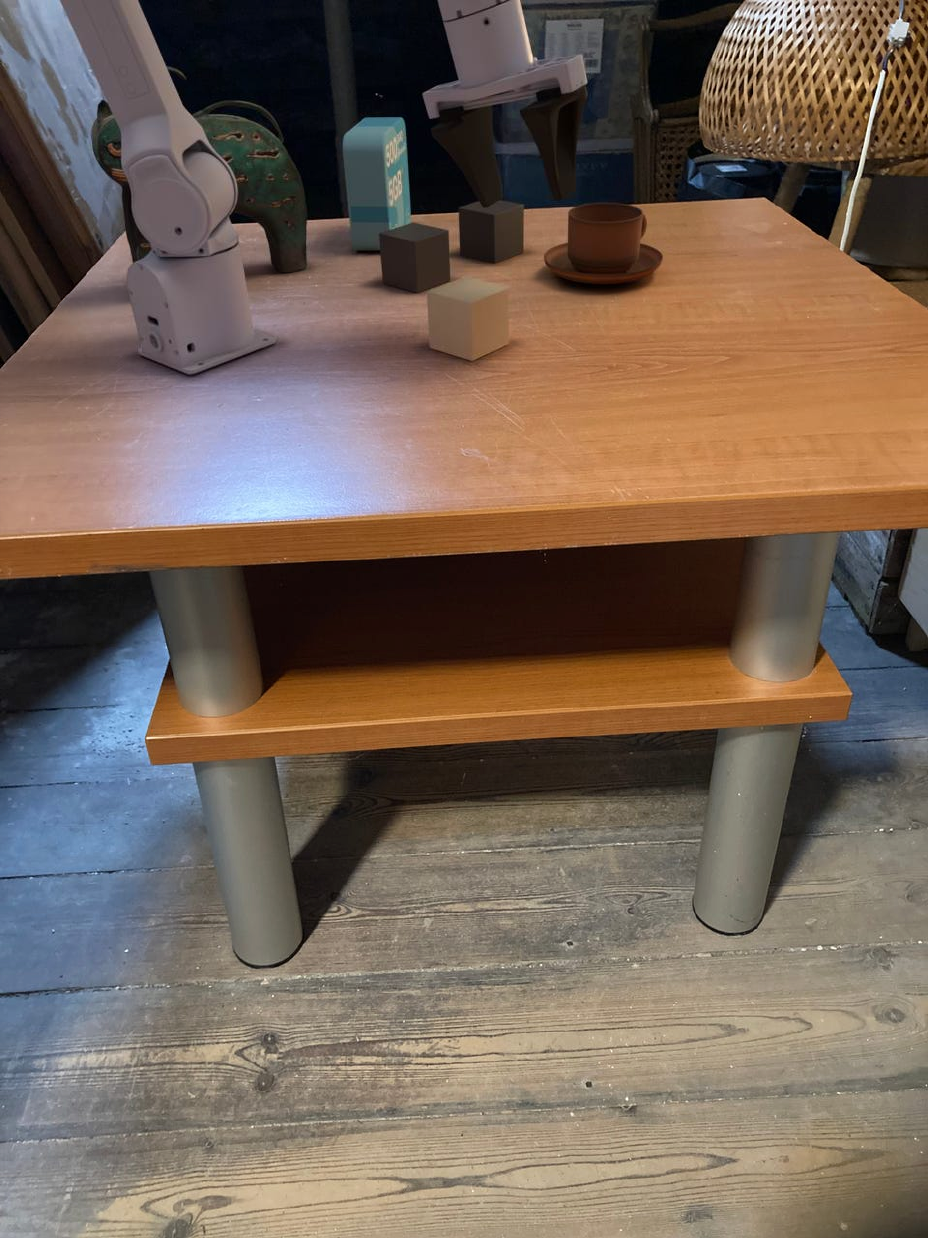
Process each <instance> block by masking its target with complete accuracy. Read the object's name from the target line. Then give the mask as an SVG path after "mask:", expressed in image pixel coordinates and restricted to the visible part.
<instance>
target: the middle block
mask: <svg viewBox="0 0 928 1238" xmlns="http://www.w3.org/2000/svg"><path fill="white" fill-rule="evenodd" d="M379 243H380V251H379V254H380V266H381V280H382V285H386V286H390V287H394V288H398V289H401V290H404V291H409V292H413V293H416V294H419V293H420V292H424V291H426V290H430V289H433V288H435V287H438V286H440V285H443V284H444V283H445V284H446V283H448V282H451V257H450V255H451V254H450V231H449V229H445V228H440V227H437V226H436V227H435V226H431V225H427V224H422V223H417V222H410V224H407V225H404V226H401V227H398V228H394V229H391V230H388V231H385V232H382V233H379Z"/></svg>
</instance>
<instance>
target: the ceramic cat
mask: <svg viewBox="0 0 928 1238" xmlns="http://www.w3.org/2000/svg"><path fill="white" fill-rule="evenodd" d="M166 67H167V70H168V72H172V73H174V74H175V75H177V76H178V77H179V78H181V80H183V82H184V83H185V82H186V80H187V77H186V76H185V75H184V74H183V72H182V71H180V70H179V69H177V68H175V67H172V66H168V65H166ZM225 106H235V107H240V108H241V107H242V108H249V109H253V110H256V111H258V112H260V113H261V114H262V115H263V116H265V117H266V118H267V119H268V120H269V121H270V122H271V124H272V125H273V126H274V128H275V130H276V133H277V135H278V136H276V135H275V134H274V133H273V131H272V132H271V130H269V129H267V128H266V127H265V126H263V125H261V124H260V123H258V122H255V121H252V120H249V119H247V118H245V117H243V116H242V117H241V116H238V115H237V116H236V115H230V114H220V113H218V114H217V113H215V114H214V113H213V114H212V113H211V114H209V113H210V112H211V111H213V110H215V109H217V108H220V107H225ZM191 115H192V116H193V117H194V119H195V120H196V121H197V122H198V123H199V124H200V125H201V126H202V128H203V130H204V133H205V135H206V137H207V139H208V141H209V143H210V145H211V146H212V148H213V149H214V150H215V151H216V153H218V154H219V155H220V156H221V157H222V158H223V159H224V160H225V161H226V162H227V164H228V165H229V166H230V168H231V170H232V171H233V174H234V176H235V179H236V183H237V189H238V196H237V202H236V205H235V208H234V210H233V211H232V214H233V213H234V214H239V215H242V216H245V217H248V218H249V219H251V220H253V222H256V223H258V225H259V226H260V227H261V228H262V229H263V231H264V233H265V238H266V239H267V245H268V250H269V256H270V263H271V266H272V267H273V269H276V270H277V271H278V272H279V273H294V272H299V271H302V270H305V269H306V268H307V266H308V261H307V260H308V258H307V256H308V255H307V253H308V252H307V238H308V237H307V233H308V232H307V229H308V228H307V226H308V208H307V203H306V195H305V189H304V184H303V181H302V178H301V175H300V173H299V170H298V168H297V166H296V165H295V163H294V161H293V159H292V158H291V156H290V154H289V153H288V150H287V149H286V147H285V146H284V144H283V143H284V142H285V140H284V136H283V134H282V131H281V128H280V127H279V125H278V122H277V121H276V119H275V118H274V116H273V115H272V114H271V113H270V112H269V111H268V110H267V109H265V108H264V107H263V106H261V105H259V104H256V103H252V102H249V101H243V100H222V101H218V102H216V103H213V104H210V105H208V106H207V107H205V108H204V109H202V110H199V111H197V112H195V113H193V114H191ZM90 138H91V148H92V152H93V156H94V158H95V160H96V162H97V164H98V166H99V167H100V168H101V170H102V171H103V172H104V173H105V174H106V176H108V177H109V179H111V180H112V181H114V182H115V183H116V184H118V185H119V186H120V187H121V203H122V212H123V219H124V230H125V235H126V240H127V243H128V245H129V251H130V256H131V260H132V264H133V263H134V262H136V261H139V260H141V259H143V258H144V257H146V256H147V255H148V254H149V252H150V251H151V250H152V249H151V244H150V242H149V241H148V240H147V239H146V238H145V237H144V236H143V235H142V233H141V232H140V230H139V229H138V227H137V225H136V222H135V220H134V217H133V212H132V195H131V189H130V185H129V182H128V180H127V177H126V175H125V173H124V171H123V169H122V165H121V131H120V128H119V126H118V124H117V122H116V120H115V118H114V115H113V113H112V111H111V109H110V107H109V105H108V103H107V100H106V99H103V98H102V99H101V100H100V101H99V103H98V104H97V109H96V118H95V119H94V121H93V123H92V125H91V132H90Z"/></svg>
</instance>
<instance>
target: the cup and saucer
mask: <svg viewBox="0 0 928 1238" xmlns="http://www.w3.org/2000/svg"><path fill="white" fill-rule="evenodd" d="M567 214H568V215H567V219H568V220H567V242H564V243H561V244H558V245H555V246H552V247H551V248H549V249H548V250H546V251H545V252H544V254H543V260H544V264H545V266H546V267H547V268H548V269H549V270H550V271H551V272H552V273H553V274H555V275H557V276H559V277H560V278H563V279H566V280H569V281H572V282H576V283H584V284H591V285H616V284H625V283H630V282H634V281H638V280H641V279H643V278H646V277H648V276H650V275H651V274H653V273H655V271H657V269H659V268H660V267H661V265H662V263H663V259H664V255H663V254H662V252H661V251H660V250H659V249H657V248H655V247H653V246H651V245H648V244H645V243H641V240H642V238H643V237H644V236H645V234H646V231H647V226H648V220H647V217H646V215H645V214H644V212H643V210H642V209H641V208H639V207H637V206H634V205H630V204H626V203H621V202H620V203H618V202H593V203H586V204H580V205H576V206H574V207H572V208H570V209H569V210H568V213H567Z"/></svg>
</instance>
